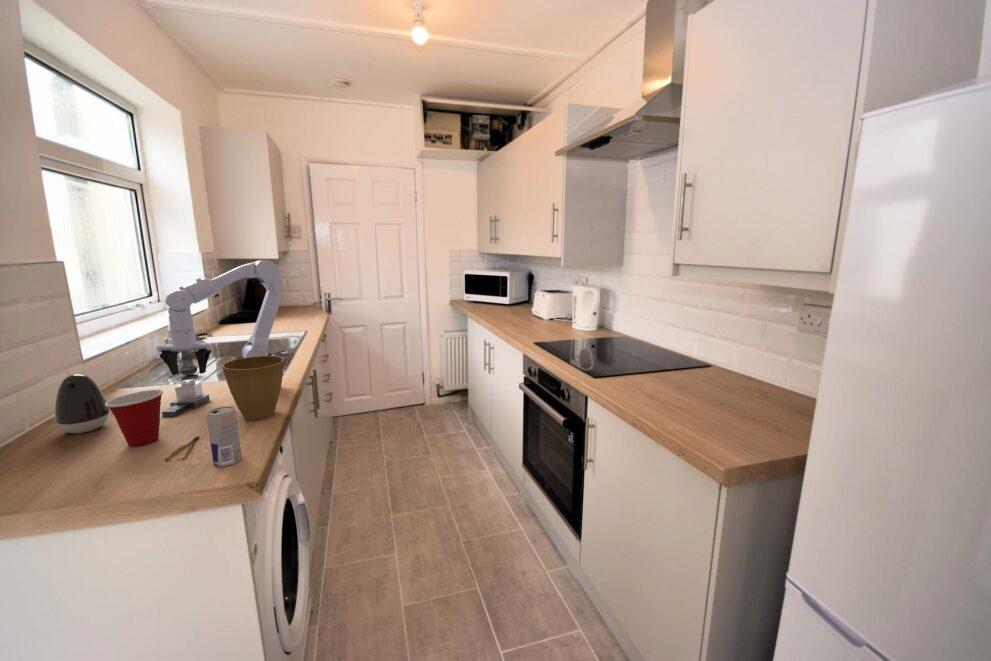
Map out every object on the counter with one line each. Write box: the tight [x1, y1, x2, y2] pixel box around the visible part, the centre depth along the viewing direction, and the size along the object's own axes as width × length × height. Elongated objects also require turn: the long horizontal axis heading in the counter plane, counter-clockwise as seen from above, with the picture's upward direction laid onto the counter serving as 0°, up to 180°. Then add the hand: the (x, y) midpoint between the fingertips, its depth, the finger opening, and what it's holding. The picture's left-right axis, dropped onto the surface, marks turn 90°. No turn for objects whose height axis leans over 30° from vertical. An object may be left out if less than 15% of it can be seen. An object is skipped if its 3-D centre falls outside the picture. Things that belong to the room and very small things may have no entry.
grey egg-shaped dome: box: [54, 373, 111, 434], centre depth 108 cm, size 10×10×15 cm
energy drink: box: [206, 405, 243, 468], centre depth 91 cm, size 5×5×12 cm
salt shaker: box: [178, 350, 199, 380], centre depth 155 cm, size 6×6×12 cm
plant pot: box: [222, 355, 285, 422], centre depth 116 cm, size 15×15×16 cm
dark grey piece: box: [161, 394, 211, 418], centre depth 124 cm, size 7×13×5 cm, turn 4°
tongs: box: [163, 436, 200, 463], centre depth 98 cm, size 4×13×2 cm, turn 19°
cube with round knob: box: [174, 378, 204, 402], centre depth 127 cm, size 5×5×6 cm
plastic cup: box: [105, 389, 164, 448], centre depth 101 cm, size 11×11×12 cm
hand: (189, 373), depth 128 cm, fingers open, 7 cm apart
